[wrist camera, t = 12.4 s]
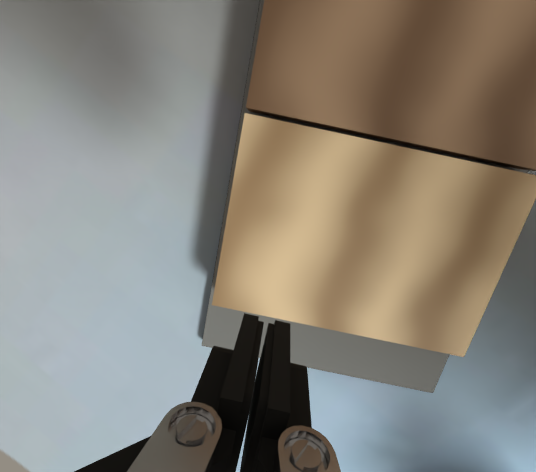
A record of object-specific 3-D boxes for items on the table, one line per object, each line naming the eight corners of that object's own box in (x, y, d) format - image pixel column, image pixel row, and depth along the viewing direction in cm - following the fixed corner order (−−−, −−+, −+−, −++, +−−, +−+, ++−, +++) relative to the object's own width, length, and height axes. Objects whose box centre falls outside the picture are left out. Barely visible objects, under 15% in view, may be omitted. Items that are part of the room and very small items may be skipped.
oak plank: (519, 174, 19) (545, 177, 17) (448, 339, 23) (463, 357, 21) (248, 116, 19) (244, 113, 17) (217, 291, 23) (211, 305, 21)
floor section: (626, -79, 16) (688, -120, 14) (429, 387, 25) (446, 414, 22) (288, -155, 16) (288, -211, 14) (203, 340, 24) (194, 363, 22)
